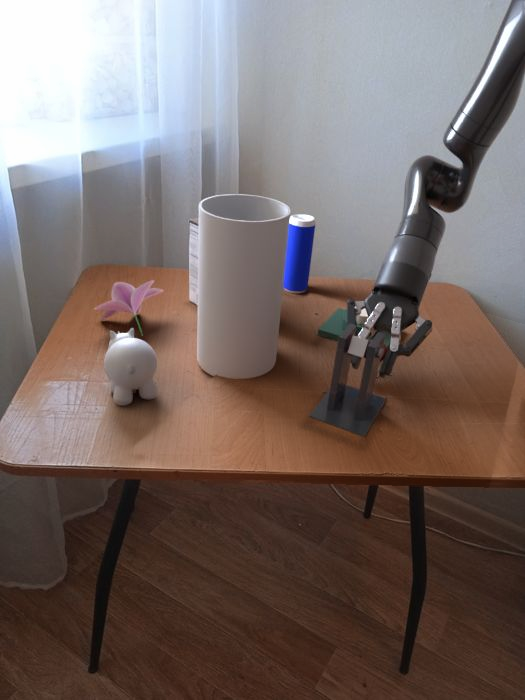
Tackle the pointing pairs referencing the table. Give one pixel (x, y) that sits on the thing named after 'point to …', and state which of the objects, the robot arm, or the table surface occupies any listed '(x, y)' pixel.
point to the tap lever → (362, 347)
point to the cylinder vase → (240, 283)
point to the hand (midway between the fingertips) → (368, 371)
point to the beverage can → (299, 253)
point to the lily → (127, 299)
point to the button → (362, 317)
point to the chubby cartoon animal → (130, 367)
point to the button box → (344, 327)
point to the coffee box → (193, 259)
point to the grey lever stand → (352, 388)
